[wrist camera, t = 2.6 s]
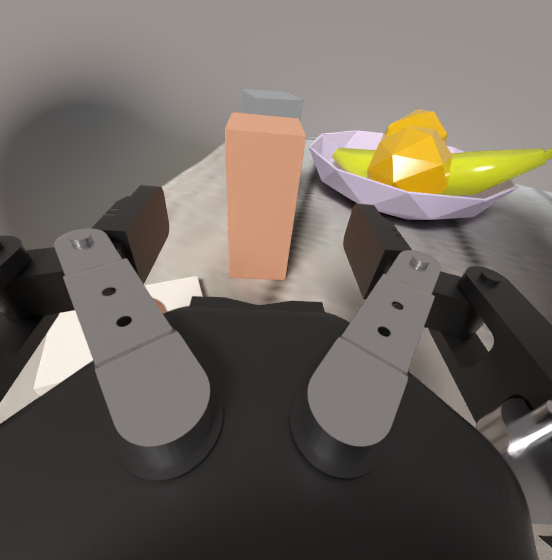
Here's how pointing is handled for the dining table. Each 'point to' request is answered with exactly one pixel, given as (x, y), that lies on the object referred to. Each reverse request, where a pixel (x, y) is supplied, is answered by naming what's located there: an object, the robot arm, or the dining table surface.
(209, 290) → the dining table surface
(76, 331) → the card
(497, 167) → the fruit bowl
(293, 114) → the grey block
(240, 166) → the terracotta block
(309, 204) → the dining table surface
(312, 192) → the dining table surface
